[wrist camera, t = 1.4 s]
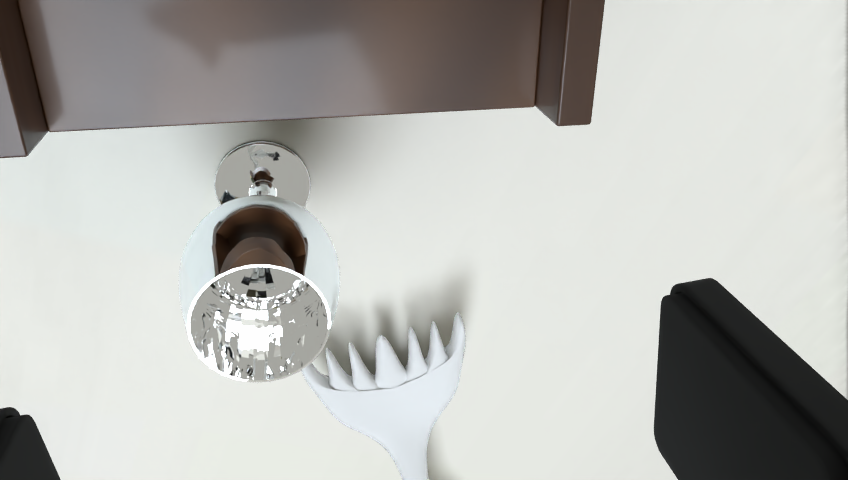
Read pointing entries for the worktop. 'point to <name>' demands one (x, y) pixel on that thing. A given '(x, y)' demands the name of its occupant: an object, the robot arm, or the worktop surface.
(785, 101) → the worktop surface
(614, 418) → the worktop surface
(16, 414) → the robot arm
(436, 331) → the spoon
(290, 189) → the wineglass
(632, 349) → the worktop surface
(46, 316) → the worktop surface
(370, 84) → the rack
